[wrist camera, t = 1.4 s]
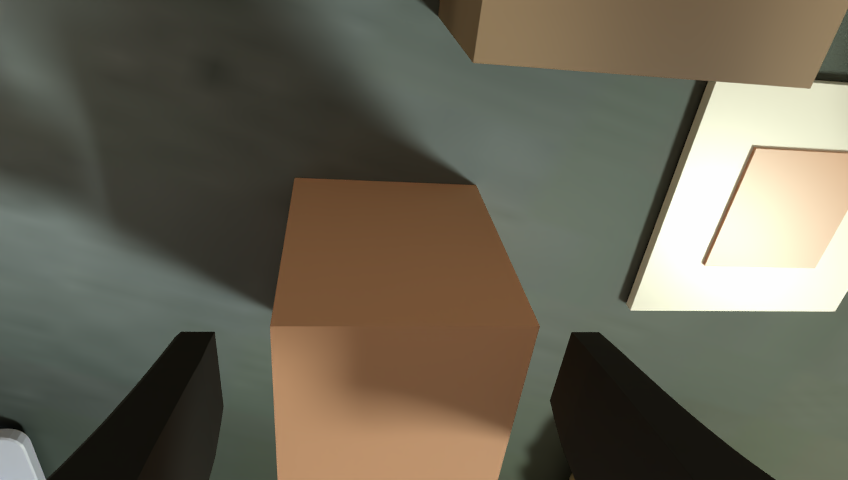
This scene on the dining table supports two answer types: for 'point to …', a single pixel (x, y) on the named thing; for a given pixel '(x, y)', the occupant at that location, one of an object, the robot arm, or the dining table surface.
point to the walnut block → (653, 36)
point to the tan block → (395, 334)
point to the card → (754, 205)
